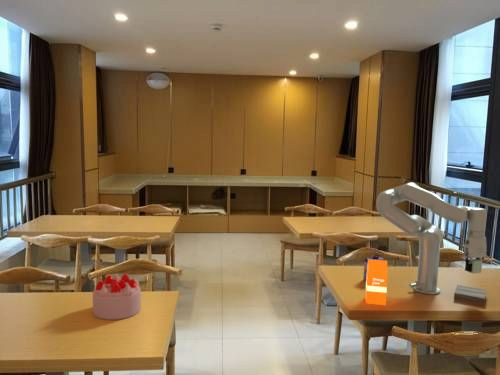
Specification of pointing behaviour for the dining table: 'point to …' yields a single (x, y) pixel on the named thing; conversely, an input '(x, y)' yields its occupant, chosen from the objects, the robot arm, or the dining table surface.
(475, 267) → the sage block
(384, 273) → the orange juice
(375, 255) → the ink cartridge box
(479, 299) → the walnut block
